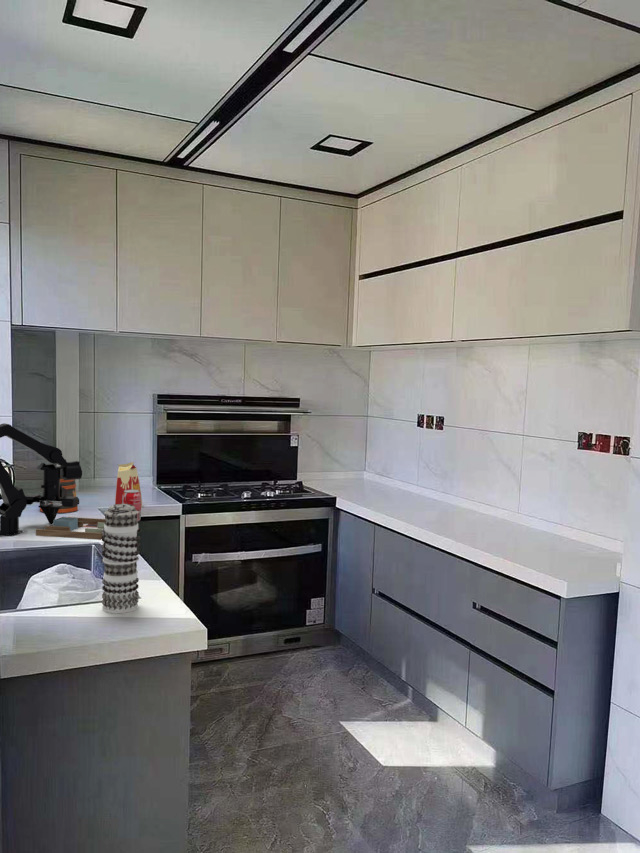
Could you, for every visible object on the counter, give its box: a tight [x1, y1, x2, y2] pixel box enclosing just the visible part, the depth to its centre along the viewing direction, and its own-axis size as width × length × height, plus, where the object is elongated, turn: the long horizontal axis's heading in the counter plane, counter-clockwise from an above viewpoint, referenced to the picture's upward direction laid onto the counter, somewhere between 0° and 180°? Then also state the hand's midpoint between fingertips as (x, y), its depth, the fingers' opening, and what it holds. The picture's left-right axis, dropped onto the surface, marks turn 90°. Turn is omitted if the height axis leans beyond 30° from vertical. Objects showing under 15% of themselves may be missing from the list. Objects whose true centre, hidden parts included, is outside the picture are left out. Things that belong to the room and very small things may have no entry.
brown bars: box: [35, 516, 106, 540], centre depth 247 cm, size 23×26×3 cm
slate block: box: [52, 516, 79, 531], centre depth 248 cm, size 6×6×4 cm
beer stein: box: [39, 458, 79, 514], centre depth 284 cm, size 19×15×20 cm
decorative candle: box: [101, 503, 142, 614], centre depth 166 cm, size 9×9×25 cm
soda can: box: [122, 490, 142, 523], centre depth 265 cm, size 7×7×12 cm
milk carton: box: [114, 461, 144, 509], centre depth 291 cm, size 9×9×20 cm
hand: (51, 524), depth 249 cm, fingers closed
